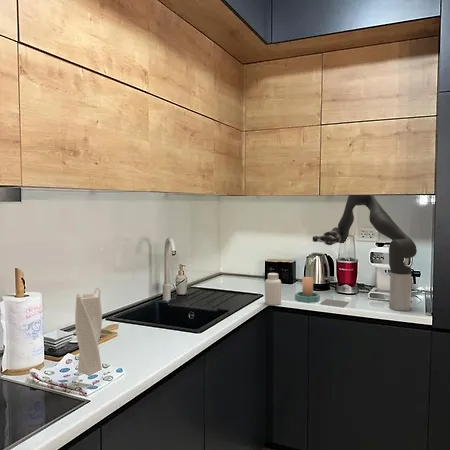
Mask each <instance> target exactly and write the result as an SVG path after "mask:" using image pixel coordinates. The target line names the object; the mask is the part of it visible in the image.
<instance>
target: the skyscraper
mask: <svg viewBox="0 0 450 450" xmlns="http://www.w3.org/2000/svg"><path fill="white" fill-rule="evenodd" d="M97 291H98V295H97ZM102 312H103V311H102V301H101V289H100V288H99V287H95V289H94V292H89V291H88V292H83V293H82V294H81V295H80V294H79V293H77V294H76V300H75V311H74V313H75V315H74V316H75V317H74V318H75V321H74V323H75V334H76V340H77V345H78V348H79V354H78V365H77V373H78V372H80V373H83V374H86V375H88V376H91V375H92V374H94V373H96V372H98V371H100V370H102V371H103V369H102V362H101V356H100V349H99V344H100V339H101V334H102V333H101V332H102V327H103V326H102V325H103V313H102Z"/></svg>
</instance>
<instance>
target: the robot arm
mask: <svg viewBox="0 0 450 450" xmlns="http://www.w3.org/2000/svg"><path fill="white" fill-rule="evenodd" d="M347 196H348V197H347V199H346V204H345V207H344V210H343V213H342V215H341V217H340V220H339V221H338V224H337V226H336V227H333V228H332V229H331V230H329V231H326V232H324V233H323V234H322V235H314V236H312V242H314V243H317V242H318V243H324V244H325V245H327V246H332V245H336V244H338V243H339V244H341V243H343V244H345V243H346V242H347V241H346V239H347V237H348V238H349V234H350V229H351V227H352V226H353V223H354V222H355V221H354V220H355V215H354V209H355V207H356V206H365V207H366V208H367V209H368V210H369V217H368V218H369V222H370V224H371V225H372V226H373V228H374V229H375V230H376V231H377V232H378V233H380V234H381V235H382V236H385V237H386V238H388V239H390V240H391V241H390V243H389V245H388V266H389V271H390V273H389V276H390V277H389V298H388V299H389V309H390V310H391V309H392V310H394V311H403V312H405V311H407V312H408V311H410V310H411V308H412V288H411V287H412V267H411V266H409V265H406V264H404V259H412V258H414V257H416V254H417V252H418V251H417V250H418V249H417V245H416V244H415V241H413V239H412V238H410V237H409V235H407V234H406V233H405V232H404V231H403V230H402V229H401V228H400V227H399V226H398V225H397V223H396V222H395V221H394V220H393V219H392V217H391V216H390V215H389V214H388V212H386V211H385V209H384V208H383V206H381V204H380V203H379V202H378V200H377V199H376V198H375V196H374V194H373V195H349V194H348V195H347ZM347 240H348V239H347ZM345 241H346V242H345ZM344 242H345V243H344Z"/></svg>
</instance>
